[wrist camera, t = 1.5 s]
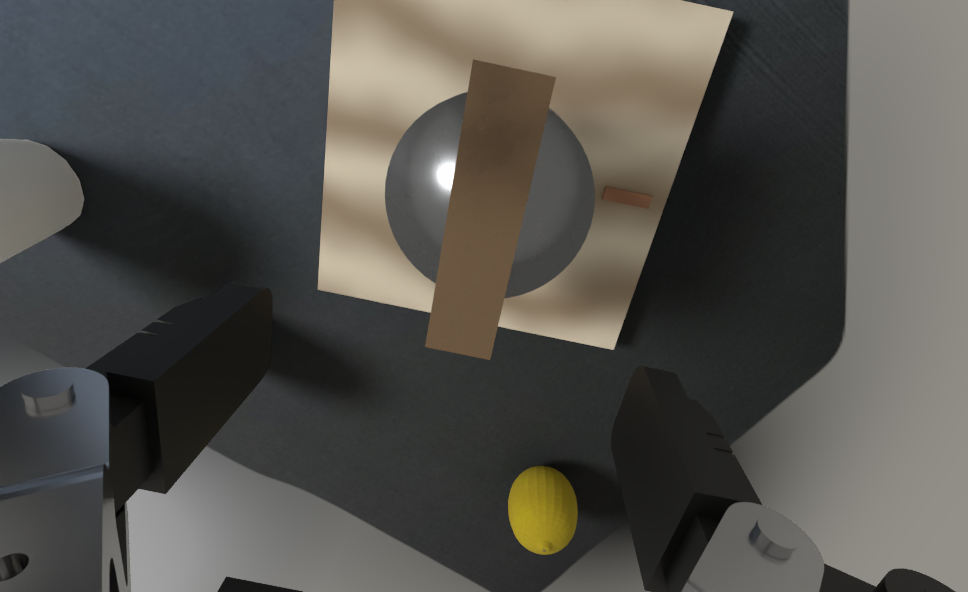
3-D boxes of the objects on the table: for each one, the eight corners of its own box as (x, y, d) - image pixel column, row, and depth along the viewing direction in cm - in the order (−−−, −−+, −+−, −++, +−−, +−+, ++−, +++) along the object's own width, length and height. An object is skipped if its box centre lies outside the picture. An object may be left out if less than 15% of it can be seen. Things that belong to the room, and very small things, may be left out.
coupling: (432, 50, 29) (375, 38, 18) (601, 86, 29) (652, 97, 18) (405, 254, 34) (347, 346, 23) (547, 283, 34) (560, 389, 23)
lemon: (515, 441, 43) (514, 517, 35) (579, 452, 43) (591, 530, 35) (504, 488, 45) (500, 569, 38) (564, 498, 45) (573, 581, 38)
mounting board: (347, -68, 28) (337, -76, 27) (723, 14, 29) (734, 11, 27) (325, 281, 38) (316, 290, 36) (610, 339, 38) (613, 351, 36)
